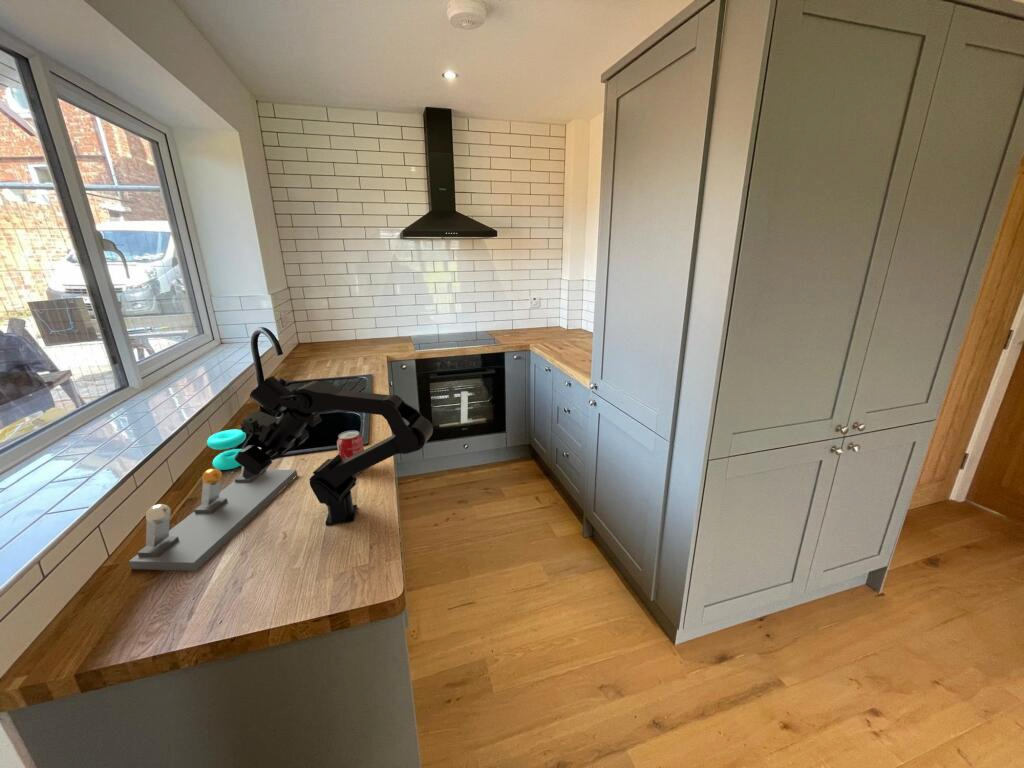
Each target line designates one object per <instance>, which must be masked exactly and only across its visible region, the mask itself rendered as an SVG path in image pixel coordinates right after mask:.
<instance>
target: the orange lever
mask: <svg viewBox="0 0 1024 768" xmlns="http://www.w3.org/2000/svg"><path fill="white" fill-rule="evenodd" d="M201 479H202V488H201V489H202V490H201V501H200V503H201V504H204V505H208V506H209V505H210V504H211V503H213V502H214V501H215V500H217V499H218V498H219V494H220V492H221V484H222V483H221V482H222V479H223V473H222V470H219V469H216V468H208V469H207V470H205V471H204V473H202V477H201ZM201 504H200V505H201Z"/></svg>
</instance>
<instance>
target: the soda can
mask: <svg viewBox="0 0 1024 768" xmlns="http://www.w3.org/2000/svg"><path fill="white" fill-rule="evenodd" d="M337 437H338V439H337V440H336V445H337V446H336V448H337V451H338V452H337V453H338V454H340V456H341V458H342V459H347V458H349V457H351V456H353V455H355V454H357V453H359V452H361V451H363V450H365V448H364V442H363V437H362V436H361V434H360V432H359V431H358V430H346V431H343V432H341V433H339V434H338V436H337ZM338 454H337V455H338ZM362 472H363V471H361V473H362ZM361 473H360V472H359V473H357V474H355V475H358V474H361ZM355 475H354V476H355Z"/></svg>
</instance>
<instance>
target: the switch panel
mask: <svg viewBox="0 0 1024 768" xmlns="http://www.w3.org/2000/svg"><path fill="white" fill-rule="evenodd" d="M295 476H297V477H298V472H297V469H266V470H265V471H263V472H262V473H260V474H259V475H254V476H252V477H250V478H248V479H245V478H244V477H243V476H242V475H241V474H240V475H238V476H237V477H236V478H235V479H234V481H233V482H232V483H230V484H229V485H228V486H226V487H225V488H223V489H222V490H220V494H219V498H218V499H217V500H215V501H214V502H213V503H211V504H210V505H209V506H208V505H204V504H200V505H198V506H197V507H196V508H194V509H193V512H192V513H190V514H189V515H188V516H186V517H185V518H184V519H182V520H181V521H180V522H178V523H177V524H175V525H174V526H173V527H172V528H171V529H169V537H167V538H166V539H165V540H163V541H162V542H161V543H159V544H158V545H157V546H156V547H151V546H147V545H145V546H144V547H142V548H141V549H139V550H138V551H137V554H136V555H135V556H134V557H132V558H131V559H130V560H128V563H129V565H130V568H131V570H151V571H152V570H153V571H154V570H155V571H156V570H157V571H159V570H160V571H162V570H163V571H197V570H198V569H199V568H200V567H202V566H203V565H204V564H205V563H206V562H207V561H208V560H209V559H210V558H211V557H212V556H213V555H215V553H217V552H218V551H219V549H220V550H221V548H222V547H223V546H224V545H225V544H226V543H228V542H229V541H230V539H232V538H233V537H234V536H235V535H236V534H237V533H238V532H239V531H240V530H242V528H244V526H245V525H247V524H248V523H249V522H250V521H251V520H252V519H253V518H254V517H255V516H257V514H258V513H259V512H260V511H261V510H263V509H264V508H265V507H266V506H267V505H268V504H269V503H270V502H271V501H272V500H273V499H274V498H276V497H277V495H278V493H279V492H280V491H281V490H282V489H283V488H284V487H285V486H286V485H287V484H288V485H290V483H291V482H293V481H294V480H293V478H294V477H295ZM290 481H291V482H290ZM288 485H287V486H288ZM287 486H286V487H287ZM286 487H285V488H286ZM285 488H284V489H285ZM284 489H283V490H284ZM283 490H282V491H283ZM282 491H281V492H282ZM281 492H280V493H281ZM280 493H279V494H280Z"/></svg>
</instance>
